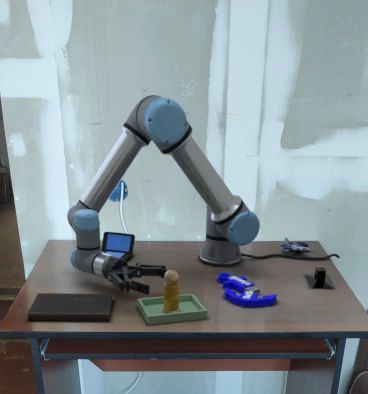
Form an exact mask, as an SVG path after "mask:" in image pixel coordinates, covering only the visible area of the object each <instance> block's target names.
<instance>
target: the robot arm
mask: <svg viewBox="0 0 368 394" xmlns="http://www.w3.org/2000/svg"><path fill="white" fill-rule="evenodd" d="M121 128H122V133H121V134H120V136H119V138H118V139H117V140H116V142H115V143H114V145H113V147H112V149H111V150H110V152H109V153H108V155H107V156H106V158H105V159H104V161H103V162H102V163H101V165H100V167H99V169H98V170H97V171H96V173H95V174H94V176H93V178H92V179H91V181H90V183H89V184H88V185H87V187H86V188H85V190H84V192H83V193H82V195H81V197H80V198H79V199H78V201H77V202H76V204H75V205H73V206H71V207H70V208H69V209H68V210H67V212H66V213H67V214H66V218H67V222H68V225H69V226H70V228H71V229H72V230H73V232H74V233H75V240H76V241H75V242H76V247H75V248H73V249H72V251H71V255H70V257H69V258H70V259H69V260H70V264H71V266H72V267H73V268H74V269H76V270H78V271H80V272H82V273H86V274H89V275H93V276H96V277H99V278H103V279H104V280H107V281H108V282H110V283H111V284H113V285H114V286H115V288H117V289H118V290H119V291H120V292H124V291H125V292H126V293H131V291H134V292H137V293H140V294H142V295H146V296H149V295H150V294H151V293H150V284H146V283H143V282H141V281H137V280H134V279H133V278H138V279H139V278H140V279H141V278H142V277H160V278H161V279H164V275H165V273H166V272H167V271H169V270H170V269H167V265H164V264H153V263H152V264H151V263H142V262H135V265H133V264H128V262H127V261H126V260H124V259H123V258H119V257H116V256H113V255H109V254H106V253H102V252H101V249H102V244H101V226H100V225H101V222H100V217H99V215H100V213H101V211H102V209H103V208H104V206H105V205H106V203H107V202H108V200H109V199H110V197H111V196H112V194H113V193H114V191H115V190H116V188H117V187H118V185H119V184H120V182H121V181H122V179H124V176H125V175H126V173H127V172H128V171H129V169H130V168H131V166H132V165H133V163H134V162H135V160H136V158H137V157H138V155H139V154H140V152H141V151H142V150H143V149H144V148H147V147H148V146H149V145H150V144H151V142H153V144H154V145H155V147H156V148H157V149H158V151H160V154H162V155H163V156H169V157H170V158H171V159H172V161H173V162H174V163H175V165H176V166H177V167H178V169H179V170H180V171H181V173H182V174H183V175H184V176H185V178H186V179H187V181H188V182H189V183H190V184H191V186H192V187H193V188H194V190H195V191H196V193H197V194H198V195H199V196H200V198H201V199H202V200H203V202H204V203H205V205H206V207H205V208H206V215H205V216H206V219H205V220H206V221H205V238H204V242H203V245H202V247H201V249H200V254H199V260H200V261H201V262H202V263H203V264H206V265H210V266H213V267H214V266H215V267H230V266H236V265H238V264H240V263H241V262H242V257H246V258H251V259H255V260H256V259H257V260H261V259H267V258H271V257H281V258H283V257H284V258H290V259H296V260H297V259H298V260H309V261H310V260H312V261H320V260H327V259H330V258H333V257H336V258H337V259H341V256H340V255H338V253H330V254H328V255H326V256H313V257H312V256H307V257H305V256H299V255H298V256H297V255H292V254H286V253H285V254H284V253H271V254H266V255H258V256H257V255H252V254H248V253H243V252H241V247H242V246H247V245H249V244H251V243H252V242H254V241H255V239H256V238H257V236H258V235H259V232H260V228H261V222H260V219H259V217H258V215H257V214H256V213H255V212H254V211H252V210H250V208H248V206H247V205H246V203H245V201H244V200H243V198H242V197H241V196H240V195H237V194H236V195H235V194H233V193H232V192H231V190H230V189H229V187H228V185H226V182H225V181H224V180H223V179H222V177H221V176H220V175H219V173H218V171H217V170H216V169H215V167H214V165H212V163H211V162H210V160H209V159H208V157H207V156H206V154H205V153H204V152H203V150H202V148H200V146H199V145H198V143H197V141H196V140H195V139H194V138H193V136H192V135H193V127H192V125H191V124H190V123H189V121H188V118H187V114H186V112H185V110H184V108H182V106H181V105H180V104H179V103H178V102H177V101H175V100H174V99H171V98H169V97H164V96H161V95H160V96H159V95H156V94H150V95H146V96H145V97H143V98H141V99H140V100H139V101H138V102H137V104H136V105H135V106H134V108H133V109H132V111H131V112H130V114H129V116H127V118H126V120H125V122H124V123H123V125H122V127H121ZM177 273H178V275H179V276H180V272H177ZM132 279H133V280H132ZM178 283H180V280H179V281H178Z"/></svg>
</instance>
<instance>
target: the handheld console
mask: <svg viewBox="0 0 368 394" xmlns="http://www.w3.org/2000/svg"><path fill="white" fill-rule="evenodd" d="M101 241H102V242H101V252H102V253H106V254H109V255H113V256H116V257H119V258H123V259H124V260H126V262H127V261H129V260H131V258H132V257H133V256H134V253H133V252H134V247H135V241H136V235H135V234H133V233H124V232H115V231H105V232H103V236H102V240H101Z"/></svg>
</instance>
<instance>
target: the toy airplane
mask: <svg viewBox="0 0 368 394" xmlns="http://www.w3.org/2000/svg"><path fill="white" fill-rule="evenodd" d="M280 247H281V248H283V249H281V251H282V252H285V254H286V255H289V253H294V254H295V253H296V254H303V253H305V254H304V257H308V253H312V254H313V253H314V254H317V255H318V252H315V251H312V250H310V248H309V247H310V246H309V244H308V243H306V242H303V241H301V242H300V241H297V242H296V244H295V243H294V242H290V240H289V238H288V237H284V241H283V243H282V244H280Z"/></svg>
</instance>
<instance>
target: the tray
mask: <svg viewBox="0 0 368 394" xmlns="http://www.w3.org/2000/svg"><path fill="white" fill-rule="evenodd" d="M163 306H164V296H155V297H154V296H153V297H144V298H137V308H138V310H139V312H140V313H141V315H142V317H143V318H144V321H145V322H146V324H147V325H148V326H150V325H160V324H169V323H178V322H189V321H198V320H207V318H208V317H207V315H208V310H207V309H206V307H204V305H203V304H202V303H201V302H200V301H199V299H198V298H197V297H196V296H195V295H194V293H187V294H179V307H180V308H181V311H180V312H177V313H167V314H165V313H163V312H162V307H163Z"/></svg>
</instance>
